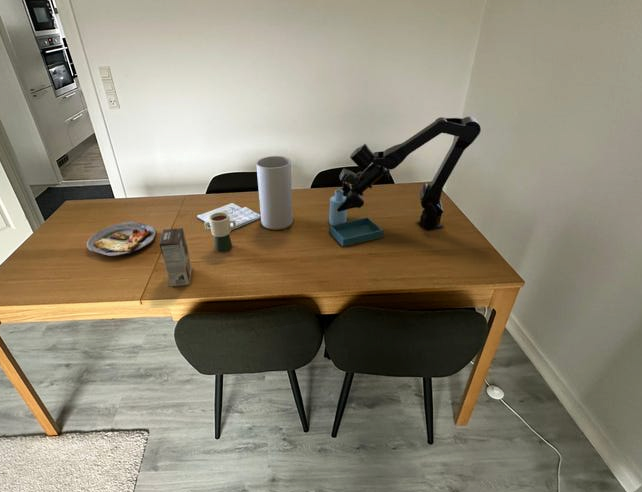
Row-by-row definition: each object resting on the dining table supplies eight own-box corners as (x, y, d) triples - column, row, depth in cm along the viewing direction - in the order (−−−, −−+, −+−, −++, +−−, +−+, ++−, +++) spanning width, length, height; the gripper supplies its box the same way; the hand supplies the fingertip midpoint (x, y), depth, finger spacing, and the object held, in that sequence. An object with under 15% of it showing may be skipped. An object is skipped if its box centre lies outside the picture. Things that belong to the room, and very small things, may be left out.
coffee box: (173, 270, 127) (162, 228, 118) (192, 268, 127) (183, 227, 118) (169, 287, 120) (158, 244, 111) (190, 285, 120) (180, 242, 111)
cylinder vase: (256, 228, 148) (250, 166, 134) (268, 213, 157) (264, 155, 143) (286, 232, 144) (283, 169, 129) (296, 217, 153) (295, 157, 139)
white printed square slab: (222, 235, 145) (222, 230, 143) (196, 217, 158) (195, 213, 157) (261, 218, 154) (261, 214, 153) (234, 203, 167) (233, 199, 166)
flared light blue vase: (341, 217, 151) (342, 186, 144) (348, 224, 146) (350, 193, 139) (326, 220, 150) (327, 189, 142) (333, 227, 145) (335, 196, 137)
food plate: (168, 233, 149) (166, 225, 146) (127, 265, 132) (124, 256, 130) (121, 223, 158) (118, 215, 156) (76, 251, 141) (73, 243, 139)
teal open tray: (366, 223, 145) (367, 217, 144) (382, 237, 137) (383, 230, 135) (329, 232, 142) (329, 225, 140) (342, 246, 133) (343, 239, 131)
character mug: (239, 242, 140) (235, 210, 132) (238, 252, 134) (233, 220, 126) (210, 243, 140) (204, 212, 133) (207, 254, 134) (201, 222, 127)
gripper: (350, 153, 141) (320, 182, 149) (357, 172, 126) (323, 202, 133) (370, 173, 145) (339, 199, 153) (378, 193, 130) (344, 222, 137)
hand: (336, 205), depth 144 cm, fingers open, 9 cm apart
